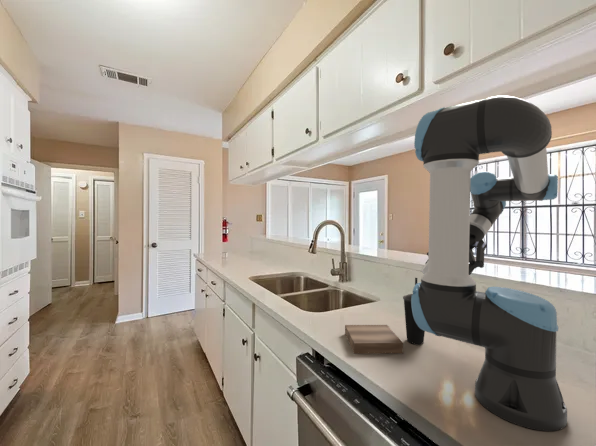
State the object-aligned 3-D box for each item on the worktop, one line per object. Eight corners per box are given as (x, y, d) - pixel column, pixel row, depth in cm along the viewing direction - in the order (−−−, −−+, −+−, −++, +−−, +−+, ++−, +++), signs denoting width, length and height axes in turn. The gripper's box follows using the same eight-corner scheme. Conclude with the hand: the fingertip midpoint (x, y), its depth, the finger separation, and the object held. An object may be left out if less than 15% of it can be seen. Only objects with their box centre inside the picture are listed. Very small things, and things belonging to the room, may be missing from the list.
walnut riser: (402, 353, 83) (403, 343, 83) (354, 353, 82) (354, 343, 82) (386, 333, 97) (386, 324, 97) (344, 333, 96) (345, 324, 96)
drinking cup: (425, 349, 86) (426, 281, 85) (398, 342, 90) (399, 278, 90) (431, 340, 92) (432, 277, 91) (406, 334, 96) (407, 274, 96)
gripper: (517, 241, 89) (481, 294, 84) (448, 235, 112) (417, 277, 107) (505, 223, 87) (469, 276, 82) (438, 222, 110) (406, 263, 105)
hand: (439, 277), depth 95 cm, fingers open, 13 cm apart
